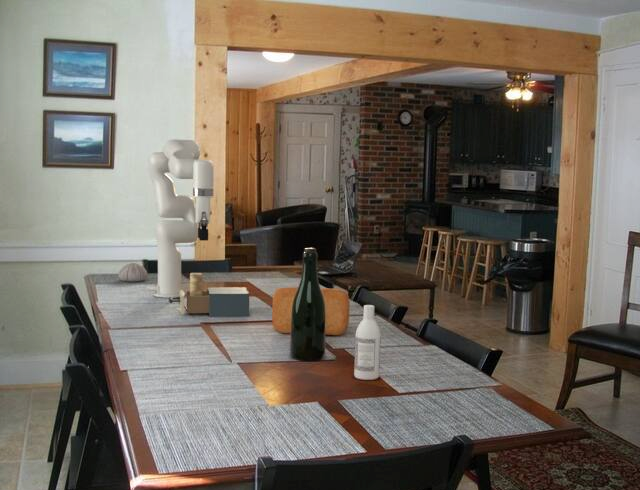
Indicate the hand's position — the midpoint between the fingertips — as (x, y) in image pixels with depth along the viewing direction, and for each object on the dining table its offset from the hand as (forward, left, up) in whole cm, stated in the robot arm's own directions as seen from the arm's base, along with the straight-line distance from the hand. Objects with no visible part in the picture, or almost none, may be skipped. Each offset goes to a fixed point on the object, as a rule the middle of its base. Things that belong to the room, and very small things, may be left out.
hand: (203, 239), depth 301 cm
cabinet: (+9, -3, -28) cm, 29 cm away
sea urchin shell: (-28, +78, -28) cm, 88 cm away
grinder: (-3, -3, -26) cm, 26 cm away
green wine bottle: (+27, -74, -28) cm, 83 cm away
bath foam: (+39, -98, -28) cm, 109 cm away
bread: (+33, -45, -20) cm, 59 cm away
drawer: (-4, -3, -27) cm, 27 cm away
